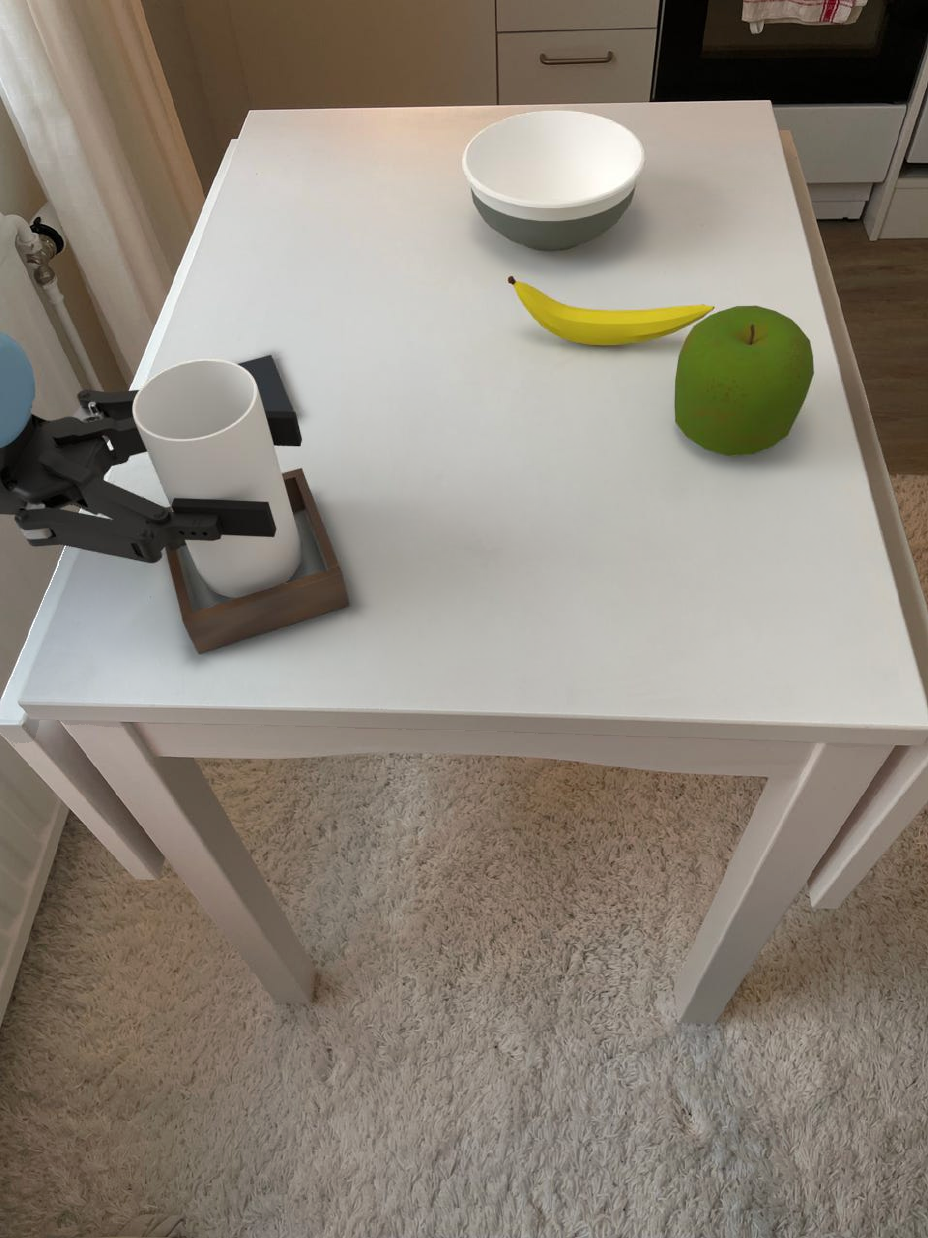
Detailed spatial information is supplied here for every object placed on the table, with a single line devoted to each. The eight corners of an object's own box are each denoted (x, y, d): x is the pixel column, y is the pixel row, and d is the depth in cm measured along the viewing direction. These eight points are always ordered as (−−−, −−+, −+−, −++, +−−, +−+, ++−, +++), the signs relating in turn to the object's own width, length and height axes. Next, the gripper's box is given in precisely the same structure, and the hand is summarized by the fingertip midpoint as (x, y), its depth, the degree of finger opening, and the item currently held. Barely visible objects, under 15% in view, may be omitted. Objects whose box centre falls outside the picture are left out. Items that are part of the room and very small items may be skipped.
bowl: (450, 196, 108) (446, 123, 102) (609, 171, 110) (615, 97, 103) (485, 292, 97) (482, 217, 91) (661, 263, 99) (671, 187, 92)
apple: (773, 486, 80) (805, 383, 71) (650, 449, 83) (666, 347, 74) (808, 403, 85) (841, 299, 77) (692, 372, 89) (711, 269, 80)
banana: (705, 361, 89) (716, 303, 84) (506, 343, 93) (505, 286, 87) (706, 341, 91) (717, 283, 86) (511, 324, 94) (510, 267, 89)
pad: (199, 443, 86) (197, 439, 86) (181, 383, 91) (179, 379, 91) (295, 416, 88) (294, 412, 87) (272, 358, 93) (271, 354, 93)
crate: (198, 654, 72) (183, 623, 69) (170, 542, 79) (155, 510, 76) (350, 605, 74) (342, 573, 71) (310, 501, 81) (301, 467, 78)
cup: (311, 521, 77) (270, 359, 64) (290, 601, 72) (240, 443, 59) (213, 516, 78) (153, 356, 65) (185, 595, 73) (114, 439, 60)
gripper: (51, 404, 78) (321, 413, 76) (-57, 607, 66) (263, 624, 64) (12, 327, 72) (304, 334, 70) (-114, 535, 60) (236, 551, 58)
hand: (284, 472), depth 67 cm, fingers closed on cup, 8 cm apart
